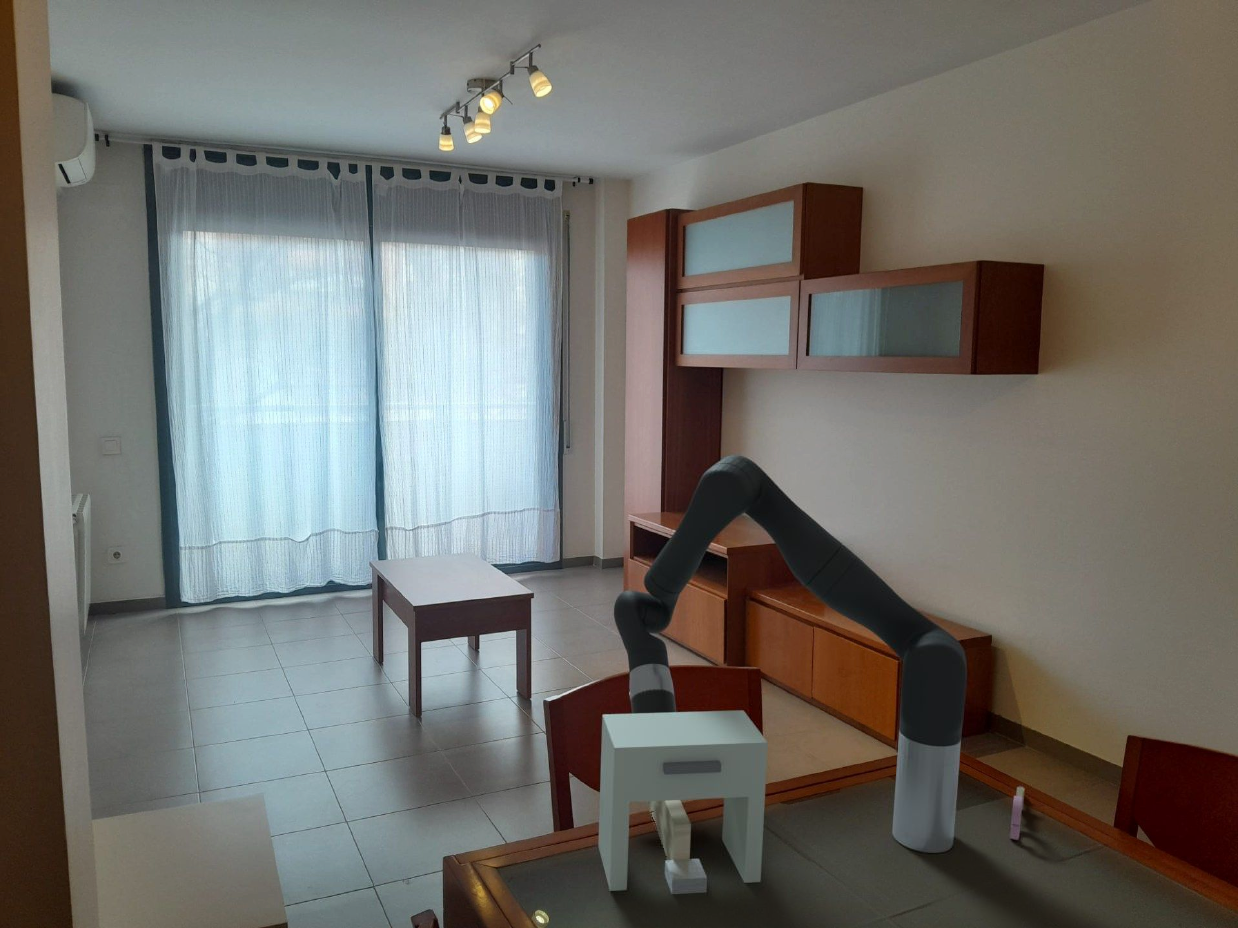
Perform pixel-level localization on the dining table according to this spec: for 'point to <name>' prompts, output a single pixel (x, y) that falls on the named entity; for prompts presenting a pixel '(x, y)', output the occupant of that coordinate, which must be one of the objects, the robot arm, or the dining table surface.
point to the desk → (683, 779)
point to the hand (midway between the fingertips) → (663, 797)
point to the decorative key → (1017, 813)
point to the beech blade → (672, 828)
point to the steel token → (685, 876)
